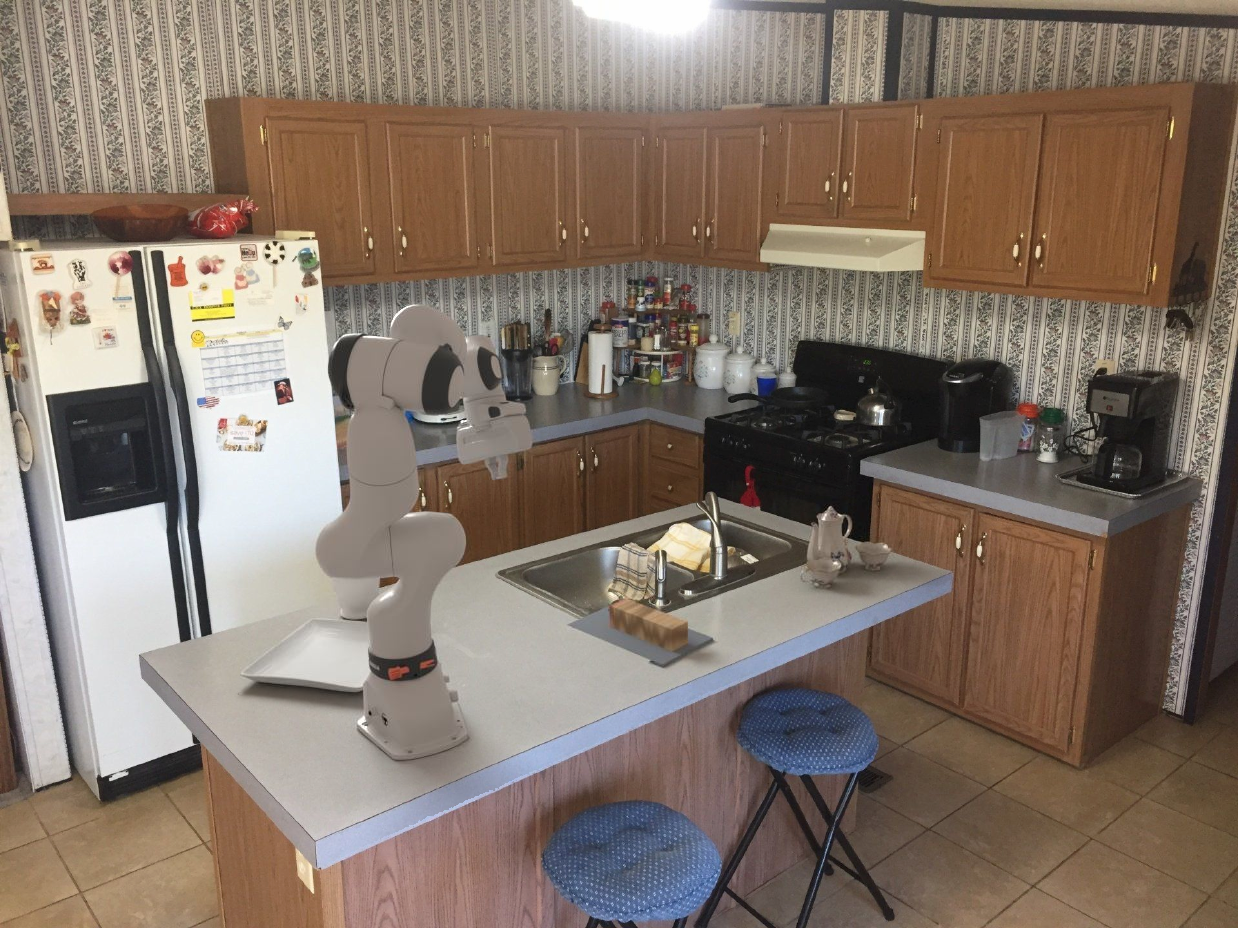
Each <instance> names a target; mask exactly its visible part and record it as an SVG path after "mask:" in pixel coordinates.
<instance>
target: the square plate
mask: <svg viewBox="0 0 1238 928" xmlns="http://www.w3.org/2000/svg"><path fill="white" fill-rule="evenodd" d="M369 646H370V643H369V634H368V624H367V621H363V620H350V619H336V618H335V619H334V618H333V619H332V618H318V617H317V618H316V617H314V618H310V619H309V620H307V621H306V622H305V623H304V624H302V625H300V626H299V627H297V628H296V629H295V630H294V631H292V632H290V634H288V635H287V636H286V637H285V638H283V639H282V640H280V641H279V642H278V643H277V644H275V645H274V646H272V647H270V649H268V650H267V651H266V652H264V653H263V654H262V655H261V656H260V657H258V658H257V659H256V660H255V661H253V662H251V664H250V665H248V666H247V667H245V668H244V669H243V670H242V671H240V673H239V676H241V677H243V678H246V679H248V680H250V681H254V682H260V683H267V684H268V683H269V684H276V685H288V686H299V687H300V686H301V687H306V688H309V687H310V688H315V689H322V690H323V689H324V690H331V691H337V692H347V693H348V692H349V693H358V692H361V691H362V692H363V683H364V681H365V680H366V678H367V677H368V675H369V673H370V668H369V662H368V648H369Z"/></svg>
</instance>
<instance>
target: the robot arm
mask: <svg viewBox="0 0 1238 928" xmlns="http://www.w3.org/2000/svg"><path fill="white" fill-rule="evenodd" d="M327 374H328V375H327V376H328V379H329V382H330V385H331V387H332V388H333V391H334V392H335V394H336V395H337V396H338V397H339V398H338V399H339V401H340V403H341V405H342V406H343V408H346V409H347V410H353V413H352V415H351V416H350V418H349V419H348V425H347V433H346V460H347V462H346V463H347V469H348V477H349V490H350V491H349V494H350V495H349V502H348V504H347V506H346V507H345V509H344V510H343V512H342V513H341V514H340V515H339V516H338V517H337V518H335V519H334V520H333V521H331V522H330V523H328V524H326V525H324V527H323V529H321V531H320V533H319V534H318V536H317V539H316V543H315V557H316V561H317V564H318V566H319V568H320V569H321V571H323V573H324V574H325V575H326V576H327V577H328V578H330V579H332V578H334V579H344V580H367V579H376V578H380V579H385V578H394V577H395V578H398V581H397V582H396V583H395V584H394V585H393V586H392V587H390V588H389V589H387V590H385V591H383V592H382V593H379V596H377V597H376V598H375V599H374V600H373V601H372V603H371V604H370V606H369V608H368V611H367V618H366V622H367V624H368V634H369V643H370V646H369V648H368V662H369V668H370V673H369V675H368V677H367V678H366V680H365V681H364V683H363V690H362V692H363V693H362V695H363V714H364V715H363V716H362V717H360V718H359V719H358V720H357V721H356V729H357V730H358V731H359V732H360V733H362V734H363V735H364V736H365V737H366V738H368V739H369V740H370V741H371V742H372V743H374V744H375V745H376V746H377V747H378V748H379V749H381V750H382V751H383V752H384V753H386V755H388V757H390V758H391V759H393V760H395V761H396V760H397V761H399V760H400V761H402V760H412V759H418V758H423V757H428V756H431V755H435V754H437V753H440V752H441V753H442V752H444V751H446V750H449V749H451V748H455V747H457V746H458V745H461V744H462V743H464V742H465V741H467V739H468V738H469V732H468V728H467V726H466V723H465V720H464V717H463V715H462V712H461V709H460V706H459V694H458V689H456V688H455V689H448V685H447V683H450V677H449V674H445V675H444V672H443V669H442V662H441V661H438V656H437V647H436V646H435V640H434V639H433V637H432V625H431V622H432V621H431V619H432V617H431V614H432V610H431V609H432V603H433V597H434V595H435V592H436V589H437V588H438V586H439V584H440V583H441V581H442V580H443V578H444V577H445V576H446V575H447V574H448V573H449V572H450V571H451V570H453V569H454V568H456V566H457V565H458V564H459V563H460V561H461V560H462V559H463V556H464V554H465V551H466V547H467V546H466V545H467V539H466V532H465V529H464V527H463V525H462V523H461V521H460V520H458V518H456V516H454V515H453V514H452V513H446V512H436V511H417V512H416V511H415V512H411V511H412V510H413V508H414V506H415V505H416V503H417V501H418V498H419V495H420V484H419V473H418V461H417V455H416V454H417V452H416V446H415V441H414V437H413V432H412V430H411V427H410V424H409V420H408V418H407V416H406V412H407V411H408V412H415V413H416V412H417V413H425V414H426V415H433V416H434V415H435V416H439V415H440V416H441V415H448V414H449V413H450V412H451V411H453V410H454V409H455V408H456V407H457V405H458V404H459V402H460V400H461V399H462V402H463V407H464V411H465V412H464V413H465V417H466V418H465V419H466V420H461V421H460V422H459V424H458V426H457V427H456V437H455V438H456V449H457V457H458V458H457V459H458V461H459V462H460V464H461V465H468V464H474V463H478V462H481V461H483V462H484V465H485V466H486V469H488V471H489V473H490V474H491V479H492V480H493V481H497V480H501V479H505V478H508V472H507V467H508V464H509V456H508V455H512V454H515V453H519V452H523V451H527V450H531V449H532V446H533V435H532V430H531V425H530V422H529V419H528V418H527V416H526V415H525V414H526V413H527V410H526V409H527V408H526V405H525V404H524V403H523V402H516V401H515V402H514V401H511V400H510V401H509V400H507V398H506V397H507V396H506V393H505V391H504V388H503V387H502V380H503V378H504V377H503V370H502V364H501V361H500V358H499V356H498V355H497V352H496V350H495V347H494V344H493V341H492V339H491V338H490V337H489V336H487V335H484V334H470V335H467V336H466V335H465V333H464V331H463V329H462V327H461V326H460V325H459V324H458V323H457V322H456V321H455V320H454V319H452V317H450V316H449V315H448V314H446V313H445V312H443V311H442V310H440V309H437V308H435V307H432V306H430V305H429V306H428V305H425V304H412V305H407V306H406V307H404V308H402V309H401V310H399V311H398V312H397V313H396V314H395V316H394V317H393V319H392V321H391V323H390V328H389V337H386V336H378V335H377V336H376V335H369V334H367V333H363V332H362V333H359V332H358V333H355V332H354V333H348V334H343V335H342V336H341V337H339V339H338V340H336V341H335V343H334V345H333V346H332V348H331V350H330V353H329V357H328V362H327ZM496 463H497V464H496Z"/></svg>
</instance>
